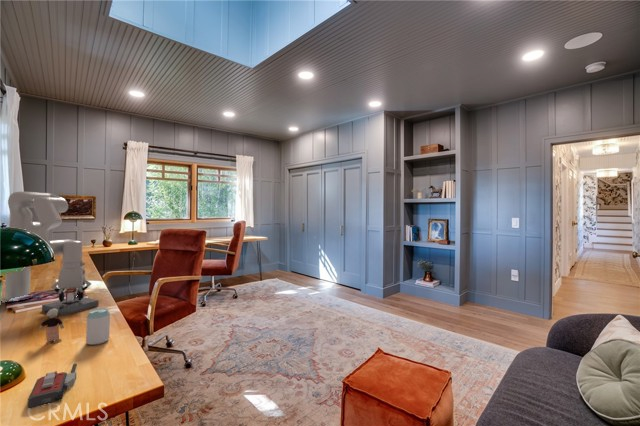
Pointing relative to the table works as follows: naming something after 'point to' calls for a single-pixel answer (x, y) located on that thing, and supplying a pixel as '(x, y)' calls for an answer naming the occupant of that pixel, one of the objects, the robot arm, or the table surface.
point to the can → (97, 326)
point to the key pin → (71, 295)
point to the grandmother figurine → (52, 326)
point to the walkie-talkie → (51, 387)
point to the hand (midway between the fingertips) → (71, 300)
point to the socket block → (71, 306)
